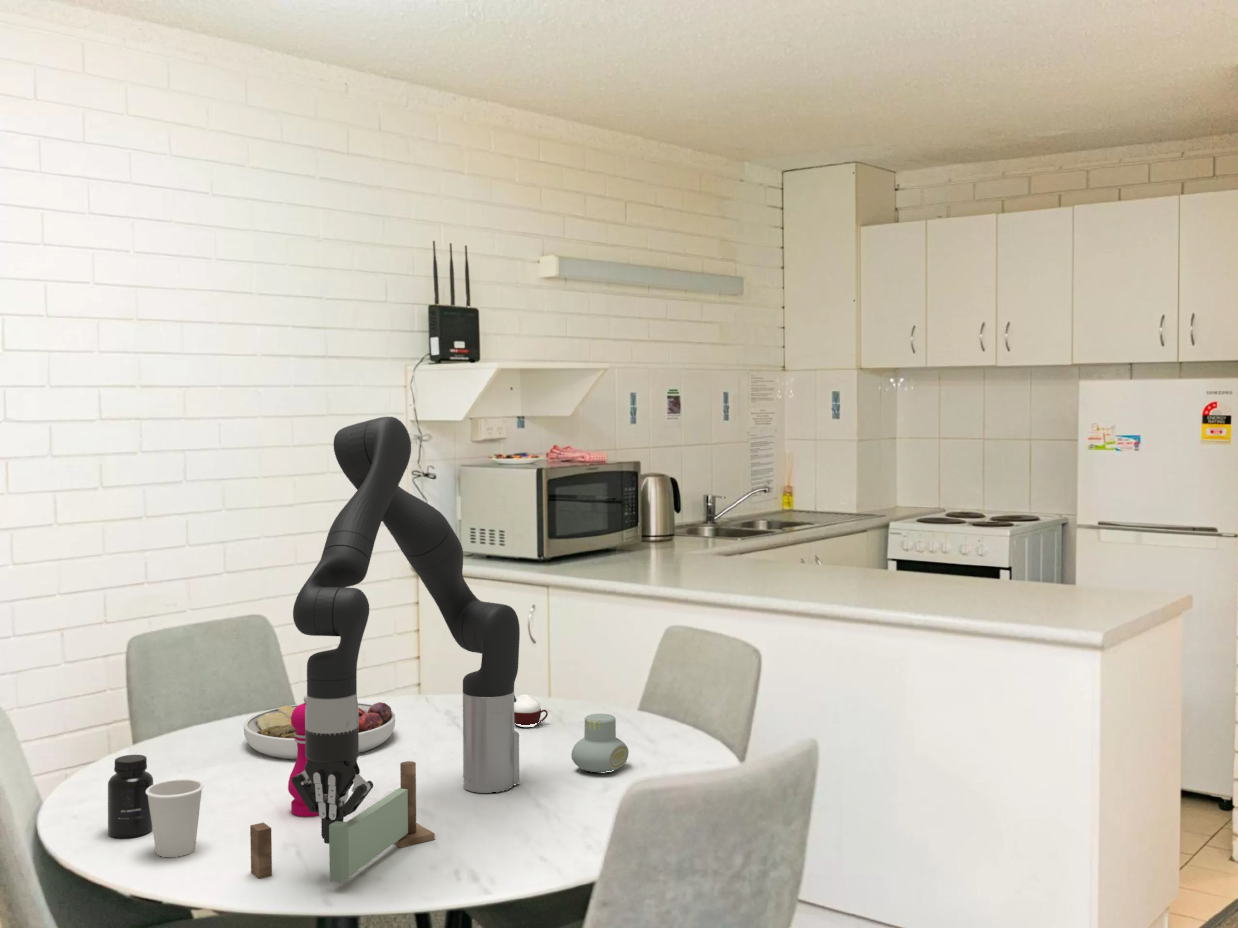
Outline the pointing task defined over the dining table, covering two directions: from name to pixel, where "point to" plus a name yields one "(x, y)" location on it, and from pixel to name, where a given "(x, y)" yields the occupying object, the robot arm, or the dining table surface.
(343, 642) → the robot arm
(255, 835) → the wooden pieces
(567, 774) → the dining table surface
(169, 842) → the dixie cup
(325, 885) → the dining table surface
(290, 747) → the bowl
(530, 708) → the cocoa
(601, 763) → the air freshener
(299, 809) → the pepper mill
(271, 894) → the dining table surface
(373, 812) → the panel
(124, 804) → the supplement bottle
